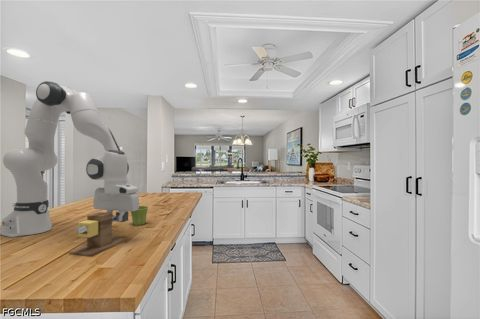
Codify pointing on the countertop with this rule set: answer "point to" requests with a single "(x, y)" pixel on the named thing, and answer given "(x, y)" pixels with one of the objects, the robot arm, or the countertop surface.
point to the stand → (99, 236)
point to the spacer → (89, 228)
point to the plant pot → (139, 215)
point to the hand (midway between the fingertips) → (115, 220)
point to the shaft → (114, 218)
